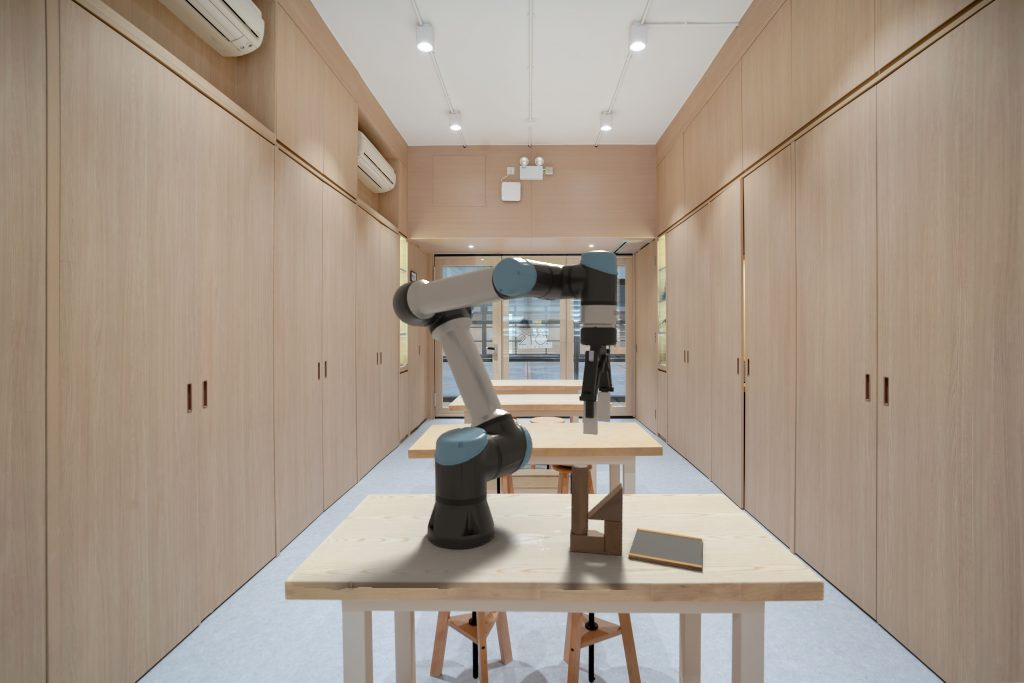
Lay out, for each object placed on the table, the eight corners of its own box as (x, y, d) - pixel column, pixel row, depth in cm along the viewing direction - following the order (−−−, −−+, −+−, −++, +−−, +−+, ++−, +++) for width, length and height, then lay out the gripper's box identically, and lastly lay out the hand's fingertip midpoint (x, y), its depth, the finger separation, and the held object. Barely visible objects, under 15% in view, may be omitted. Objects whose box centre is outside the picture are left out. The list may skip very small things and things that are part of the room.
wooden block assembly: (622, 555, 101) (623, 469, 100) (570, 552, 102) (570, 467, 101) (620, 547, 104) (621, 464, 104) (570, 544, 106) (571, 462, 105)
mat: (628, 557, 100) (628, 554, 100) (637, 531, 113) (637, 528, 113) (701, 570, 94) (701, 567, 94) (702, 541, 107) (702, 538, 107)
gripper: (605, 326, 89) (603, 441, 89) (625, 326, 112) (624, 418, 112) (565, 326, 91) (564, 438, 92) (593, 326, 115) (592, 415, 115)
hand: (597, 427), depth 102 cm, fingers open, 13 cm apart
